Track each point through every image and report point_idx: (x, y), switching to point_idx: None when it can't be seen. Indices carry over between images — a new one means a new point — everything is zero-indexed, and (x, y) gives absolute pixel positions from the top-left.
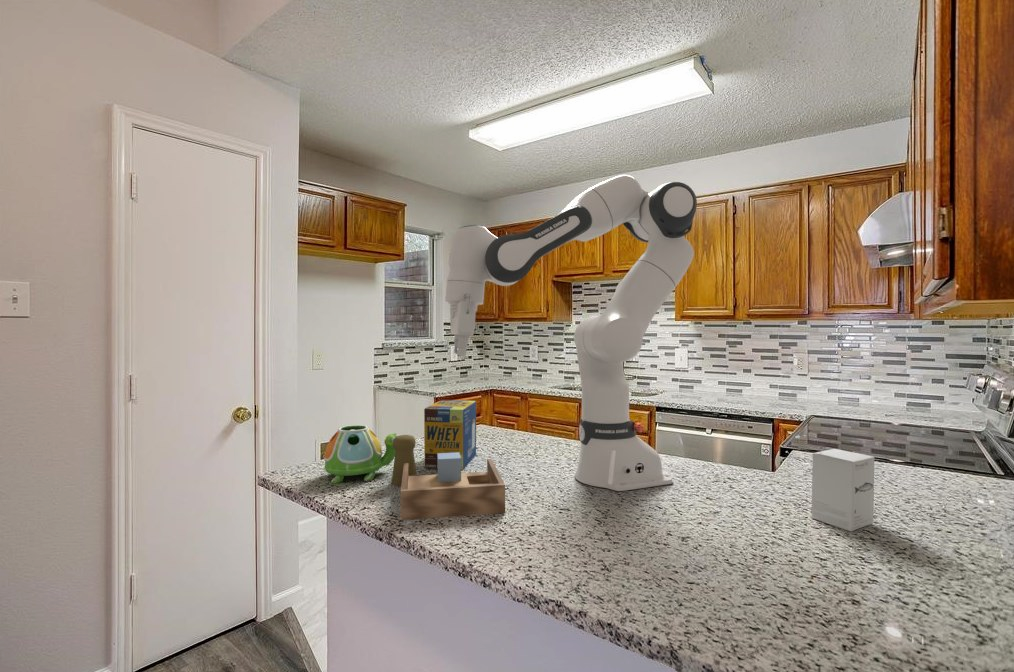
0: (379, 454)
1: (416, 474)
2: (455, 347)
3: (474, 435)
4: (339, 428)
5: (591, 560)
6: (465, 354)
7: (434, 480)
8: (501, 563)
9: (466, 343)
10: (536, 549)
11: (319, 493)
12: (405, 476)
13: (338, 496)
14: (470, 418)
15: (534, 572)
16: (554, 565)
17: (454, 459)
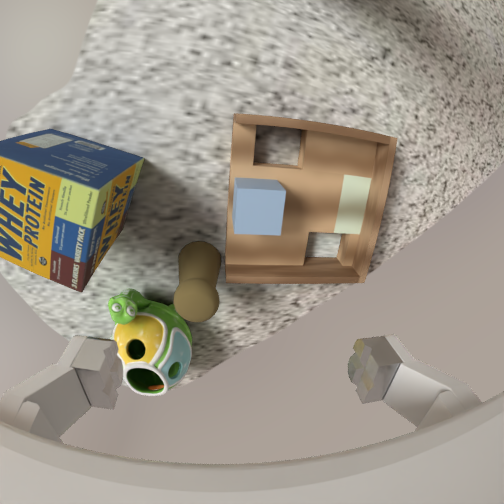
0: (160, 318)
1: (202, 249)
2: (114, 402)
3: (40, 137)
4: (149, 395)
5: (480, 107)
6: (396, 338)
7: None
8: (463, 181)
9: (447, 381)
10: (457, 141)
11: (225, 352)
12: (304, 279)
13: (242, 334)
14: (48, 155)
15: (479, 161)
16: (478, 141)
17: (284, 203)
